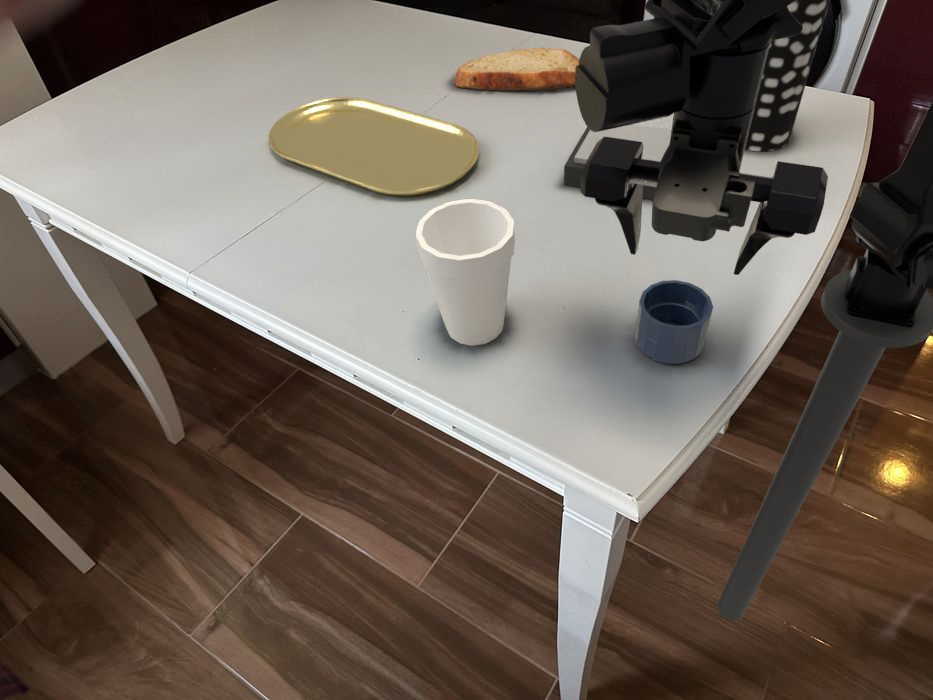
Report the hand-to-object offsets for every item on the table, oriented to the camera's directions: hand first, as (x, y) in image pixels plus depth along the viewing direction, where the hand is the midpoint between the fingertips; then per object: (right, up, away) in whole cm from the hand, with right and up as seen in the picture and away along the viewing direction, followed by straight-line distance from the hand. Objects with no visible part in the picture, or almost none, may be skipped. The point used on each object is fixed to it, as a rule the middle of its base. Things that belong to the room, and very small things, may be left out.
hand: (684, 261), depth 63 cm
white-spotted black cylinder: (+21, +22, +33) cm, 44 cm away
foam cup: (-19, -5, +12) cm, 23 cm away
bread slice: (-11, +36, +50) cm, 63 cm away
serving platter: (-34, +22, +39) cm, 56 cm away
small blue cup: (+1, -7, +8) cm, 11 cm away
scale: (+2, +16, +30) cm, 34 cm away
